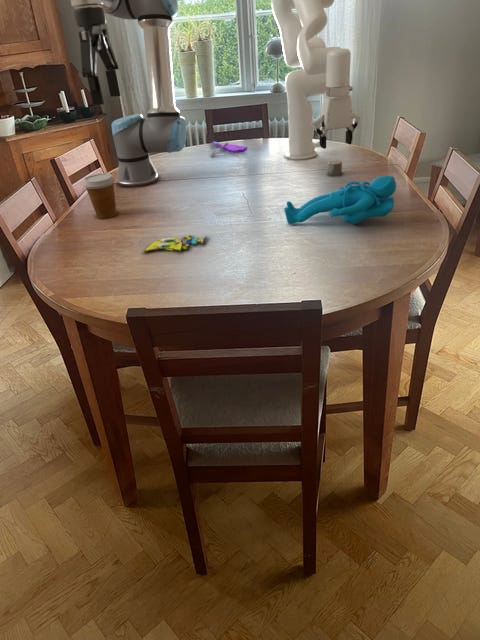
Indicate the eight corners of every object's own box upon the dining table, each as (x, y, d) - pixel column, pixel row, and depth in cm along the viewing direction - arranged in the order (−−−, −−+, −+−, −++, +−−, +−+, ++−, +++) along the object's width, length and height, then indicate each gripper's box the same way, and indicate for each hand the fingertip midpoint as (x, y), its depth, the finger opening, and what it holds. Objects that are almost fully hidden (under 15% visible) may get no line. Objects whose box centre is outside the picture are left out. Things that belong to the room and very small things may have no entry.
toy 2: (287, 190, 142) (392, 164, 132) (296, 223, 147) (398, 200, 137) (279, 211, 128) (396, 183, 118) (290, 247, 133) (402, 223, 123)
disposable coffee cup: (85, 218, 153) (75, 181, 146) (103, 208, 160) (94, 172, 154) (110, 221, 150) (101, 182, 143) (127, 210, 157) (119, 173, 150)
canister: (340, 176, 170) (341, 163, 167) (327, 176, 171) (327, 163, 169) (342, 172, 174) (342, 160, 171) (329, 172, 175) (329, 159, 172)
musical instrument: (232, 160, 201) (256, 142, 213) (231, 155, 200) (255, 138, 212) (188, 160, 214) (213, 143, 226) (187, 155, 213) (212, 139, 225)
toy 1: (199, 248, 125) (143, 249, 127) (199, 251, 125) (144, 252, 127) (206, 233, 133) (154, 234, 135) (206, 236, 133) (154, 237, 136)
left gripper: (83, 6, 108) (105, 107, 120) (118, 5, 129) (134, 92, 140) (52, 9, 109) (76, 109, 121) (91, 8, 130) (109, 93, 141)
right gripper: (355, 87, 162) (352, 140, 172) (308, 93, 159) (308, 147, 168) (366, 89, 156) (363, 144, 166) (318, 96, 153) (317, 151, 162)
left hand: (107, 100), depth 131 cm, fingers open, 13 cm apart
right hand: (335, 145), depth 167 cm, fingers open, 9 cm apart
